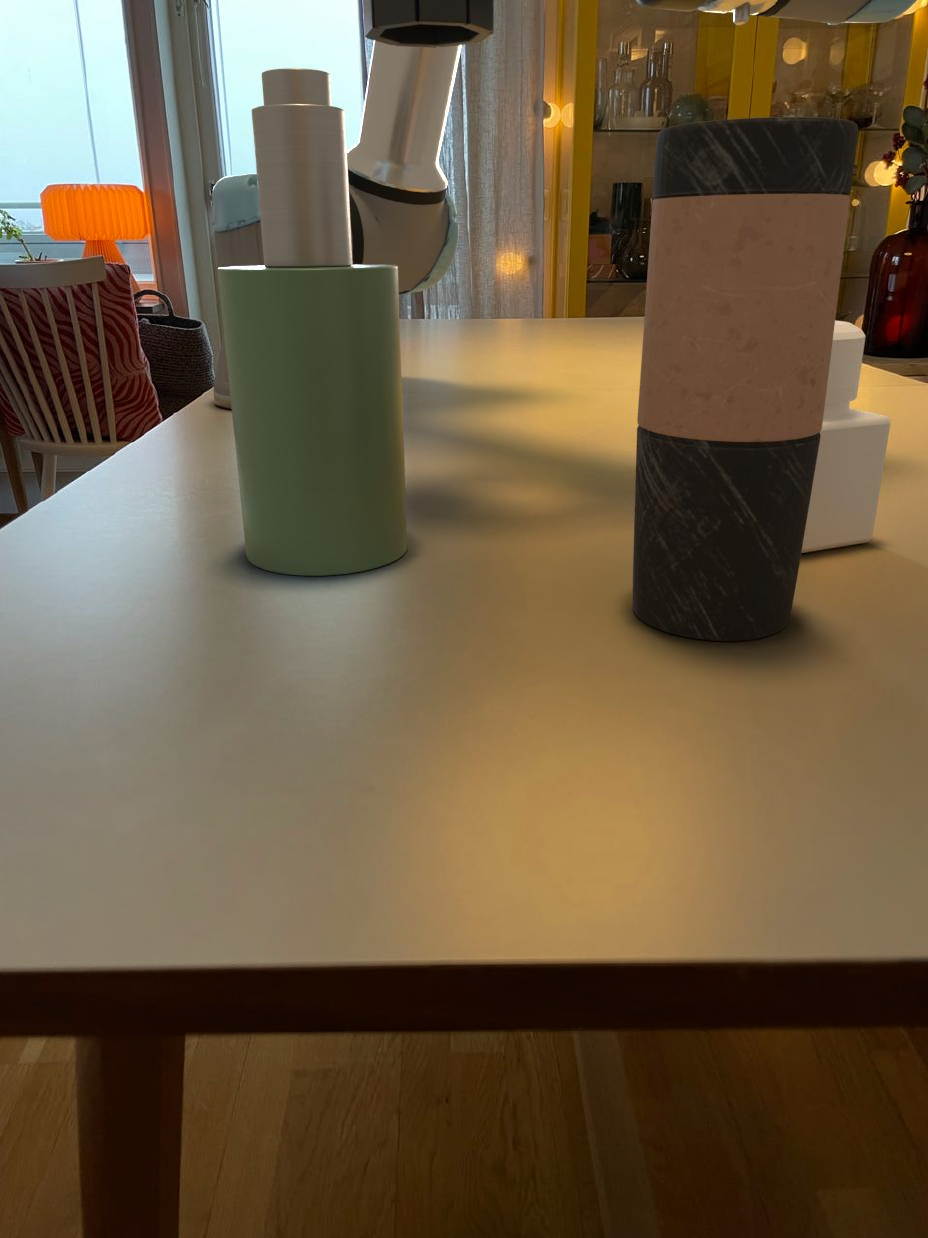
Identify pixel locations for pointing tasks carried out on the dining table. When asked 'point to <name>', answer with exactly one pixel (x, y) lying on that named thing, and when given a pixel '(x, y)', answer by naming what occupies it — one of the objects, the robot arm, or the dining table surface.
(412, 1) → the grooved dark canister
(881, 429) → the medicine bottle
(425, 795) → the dining table surface
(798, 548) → the travel mug
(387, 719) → the dining table surface
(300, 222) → the flask
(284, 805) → the dining table surface
